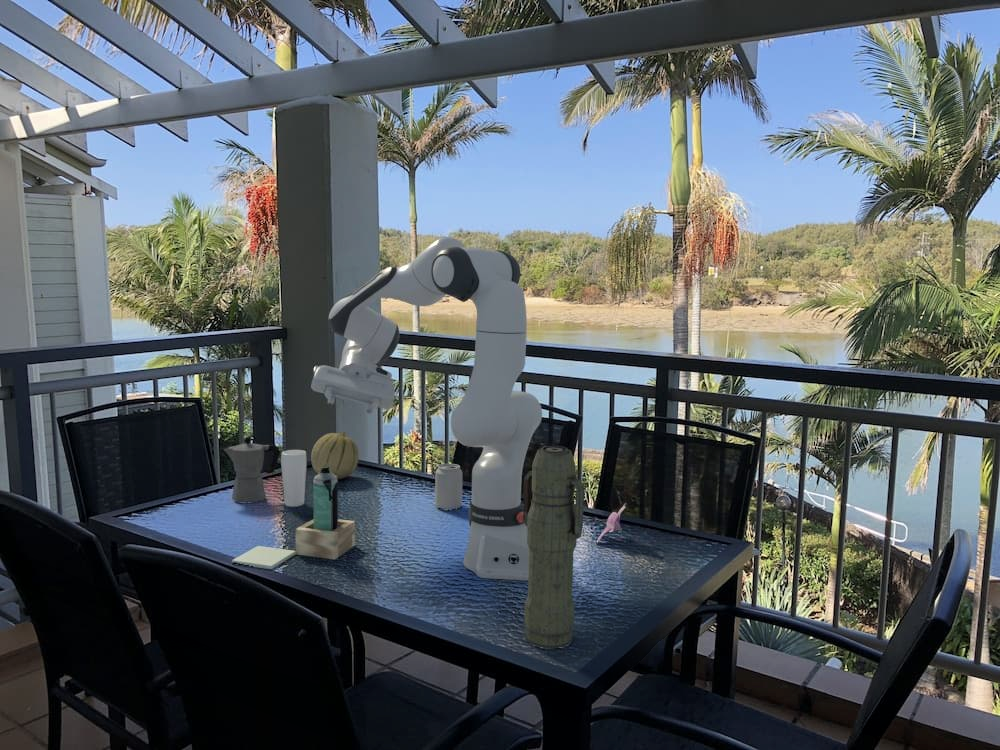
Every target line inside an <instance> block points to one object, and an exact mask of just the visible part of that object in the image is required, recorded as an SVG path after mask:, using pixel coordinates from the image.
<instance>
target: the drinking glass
mask: <svg viewBox="0 0 1000 750" xmlns="http://www.w3.org/2000/svg"><path fill="white" fill-rule="evenodd" d="M280 455H281V457H280V463H281V465H280V466H281V468H280V469H281V475H282V476H281V477H282V485H283V486H282V487H283V494H284V495H283V496H284V505H285V506H286V507H288V508H298V507H301V506H303V505H304V504H305V492H306V491H305V490H306V489H305V488H306V478H307V452H306V451H305V450H302V449H287V450H284V451H282V452H280Z"/></svg>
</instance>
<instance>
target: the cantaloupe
mask: <svg viewBox="0 0 1000 750" xmlns="http://www.w3.org/2000/svg"><path fill="white" fill-rule="evenodd" d="M345 434H346V432H345V431H342V433H339V432H338V433H337V432H331V433H330V432H329V433H326V434H324V435H322V436H321V437H320V438H319V439H318V440H317V441H316V442H315V444H314V445H313V447H312V450H311V457H310V459H311V460H310V461H311V465H312V468H313V470H314V471H315V472H316V473H317V475H318V474H319V472H320V471H321V469H322V467H323V466H329V470H330V471H331V472H332V474H334V475H336V476H337V480H342V479H345V478H347V477H349V476H351V475H352V473H353V472H354V471H355V470H356V468H357V466H358V463H359V459H360V457H359V456H360V455H359V448H358V446H357V444H356V443H355V441H354V439H352V438H350V437H349V436H347V435H345Z"/></svg>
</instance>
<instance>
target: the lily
mask: <svg viewBox="0 0 1000 750" xmlns="http://www.w3.org/2000/svg"><path fill="white" fill-rule="evenodd" d="M625 508H626V503H624V504H623V506H622V507H621V508H620V509H619V510H618V512H616V511H613V512H612V513H610V515H608V518H607V519H606V527H605V528H604V529H603V530H602V532H601V534H599V536H598V538H597V540H596V542H597V544H598V543H599V541H600V539H601V538H602V537H603V536H604V535H605V534H608V533H612V532H616V531H620V532H621V533H622V534H623V535H624V537H625V538H626V540H627V539H628V540H629V538H628V536H627V535H626V532H624V531H623V530H622V527H621V514H622V512H623V511H624V509H625Z"/></svg>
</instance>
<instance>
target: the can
mask: <svg viewBox="0 0 1000 750" xmlns="http://www.w3.org/2000/svg"><path fill="white" fill-rule="evenodd" d="M434 474H435V479H434V480H435V481H434V482H435V483H434V484H435V489H434V491H435V492H434V494H435V495H434V505H435V506H436V507H437V508H438V509H439V508H441V509H456V508H458V509H460V507H462V505H463V471H462V469H461V466H460V465H459V464H455V463H442V464H439V465H438V466H437V468H436V470H435V473H434ZM441 509H440V510H441ZM456 510H457V509H456Z"/></svg>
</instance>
